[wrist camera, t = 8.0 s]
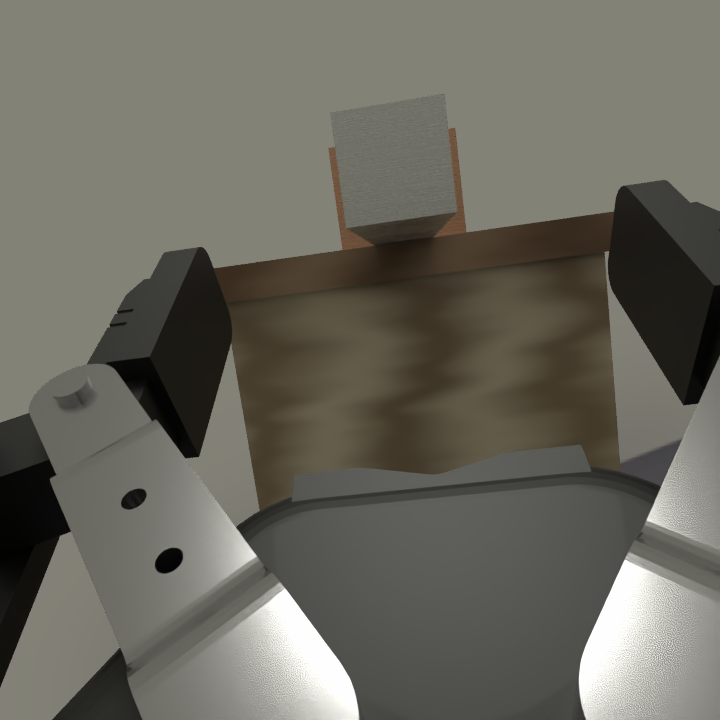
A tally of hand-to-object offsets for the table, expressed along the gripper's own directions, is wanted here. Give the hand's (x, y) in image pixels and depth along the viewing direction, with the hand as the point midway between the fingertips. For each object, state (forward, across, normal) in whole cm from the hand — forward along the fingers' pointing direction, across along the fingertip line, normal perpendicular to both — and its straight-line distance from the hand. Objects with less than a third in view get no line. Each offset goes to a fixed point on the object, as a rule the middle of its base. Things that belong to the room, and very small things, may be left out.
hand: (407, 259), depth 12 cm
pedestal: (+2, 0, +37) cm, 37 cm away
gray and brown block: (+11, 0, +5) cm, 12 cm away
